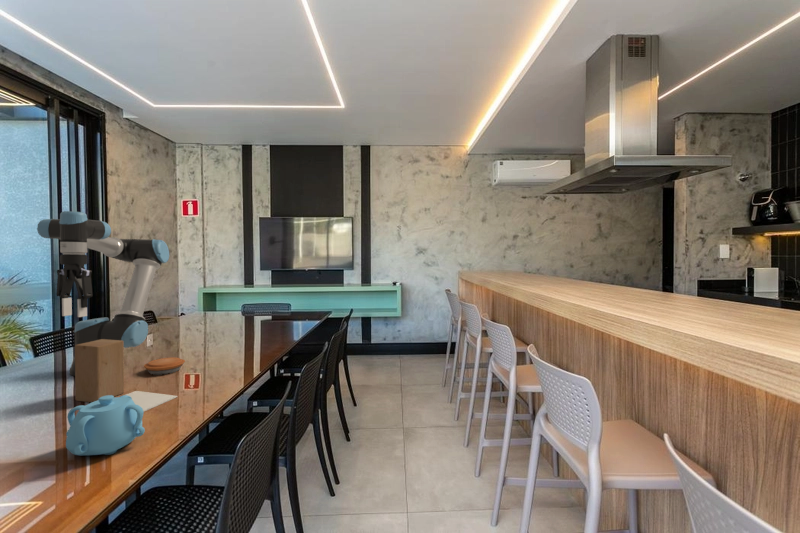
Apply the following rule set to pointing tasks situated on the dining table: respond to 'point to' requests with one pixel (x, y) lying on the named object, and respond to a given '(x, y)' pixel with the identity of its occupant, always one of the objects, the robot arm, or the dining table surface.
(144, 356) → the dining table surface
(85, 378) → the wooden block
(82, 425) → the decorative pot
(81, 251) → the robot arm
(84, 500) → the dining table surface
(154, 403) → the mat
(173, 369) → the pie
